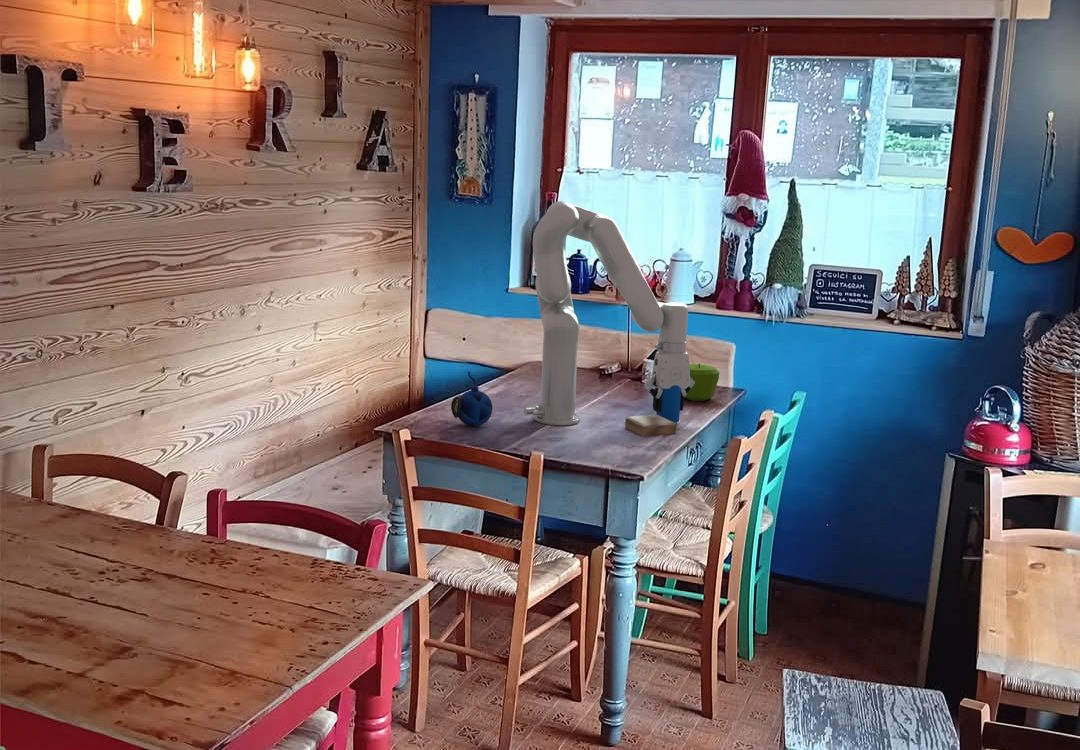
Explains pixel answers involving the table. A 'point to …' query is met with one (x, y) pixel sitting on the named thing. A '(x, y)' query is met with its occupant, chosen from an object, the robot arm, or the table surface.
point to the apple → (702, 382)
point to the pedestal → (650, 425)
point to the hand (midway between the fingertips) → (668, 409)
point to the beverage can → (670, 403)
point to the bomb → (472, 406)
